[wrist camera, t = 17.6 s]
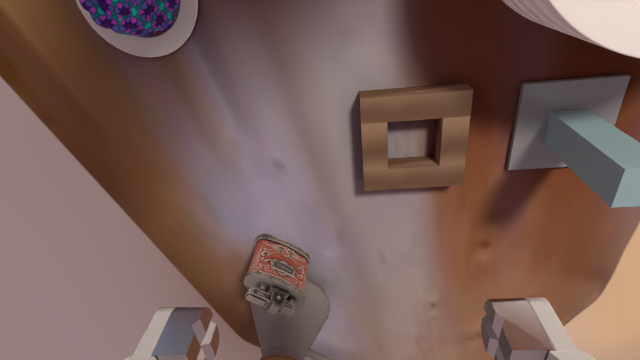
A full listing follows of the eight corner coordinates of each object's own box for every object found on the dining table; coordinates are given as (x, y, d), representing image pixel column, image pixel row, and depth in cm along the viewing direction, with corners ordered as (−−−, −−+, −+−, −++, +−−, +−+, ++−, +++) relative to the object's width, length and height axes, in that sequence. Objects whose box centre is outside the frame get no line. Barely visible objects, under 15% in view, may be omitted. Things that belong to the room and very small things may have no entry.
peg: (550, 111, 39) (625, 169, 29) (587, 109, 38) (676, 166, 28) (543, 143, 41) (611, 207, 30) (578, 140, 40) (658, 205, 30)
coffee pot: (256, 313, 59) (232, 413, 46) (252, 260, 53) (223, 358, 40) (391, 322, 58) (404, 426, 46) (402, 270, 52) (422, 372, 40)
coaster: (521, 82, 38) (524, 84, 37) (626, 74, 37) (630, 75, 36) (506, 167, 43) (508, 170, 43) (598, 162, 42) (601, 164, 42)
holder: (358, 91, 39) (359, 99, 37) (466, 82, 38) (473, 89, 36) (363, 180, 45) (364, 190, 43) (456, 174, 44) (462, 185, 42)
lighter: (314, 253, 52) (308, 313, 43) (302, 268, 53) (294, 328, 45) (262, 229, 50) (245, 286, 41) (251, 245, 51) (233, 303, 43)
